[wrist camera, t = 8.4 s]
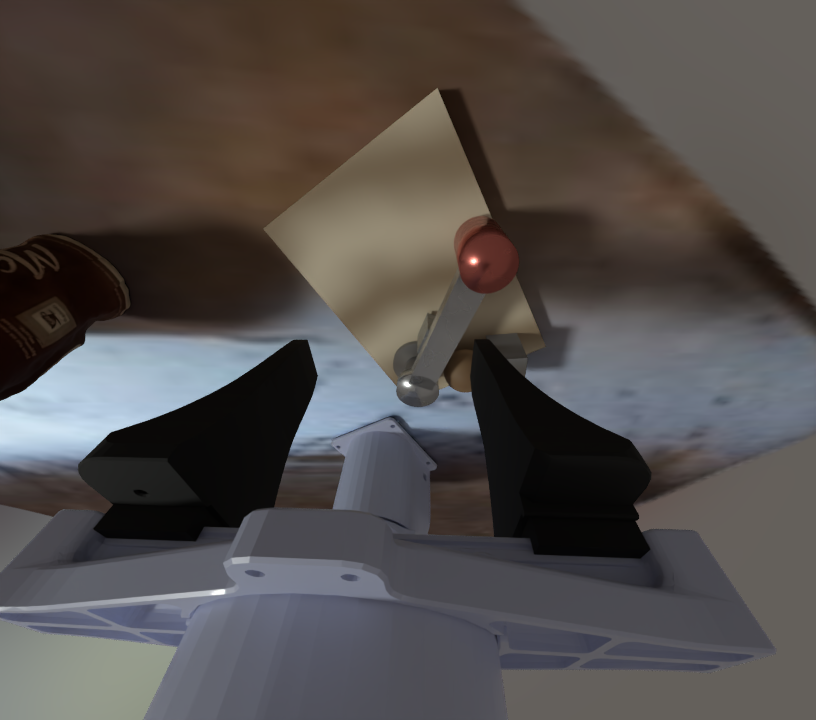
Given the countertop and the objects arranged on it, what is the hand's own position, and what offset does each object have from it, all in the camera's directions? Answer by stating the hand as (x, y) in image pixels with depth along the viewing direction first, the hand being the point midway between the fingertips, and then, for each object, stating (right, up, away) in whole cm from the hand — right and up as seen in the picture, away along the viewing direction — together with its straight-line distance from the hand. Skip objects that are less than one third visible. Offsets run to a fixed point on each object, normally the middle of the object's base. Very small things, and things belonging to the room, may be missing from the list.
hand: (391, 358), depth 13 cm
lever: (+3, +3, +8) cm, 9 cm away
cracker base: (+2, +5, +8) cm, 10 cm away
